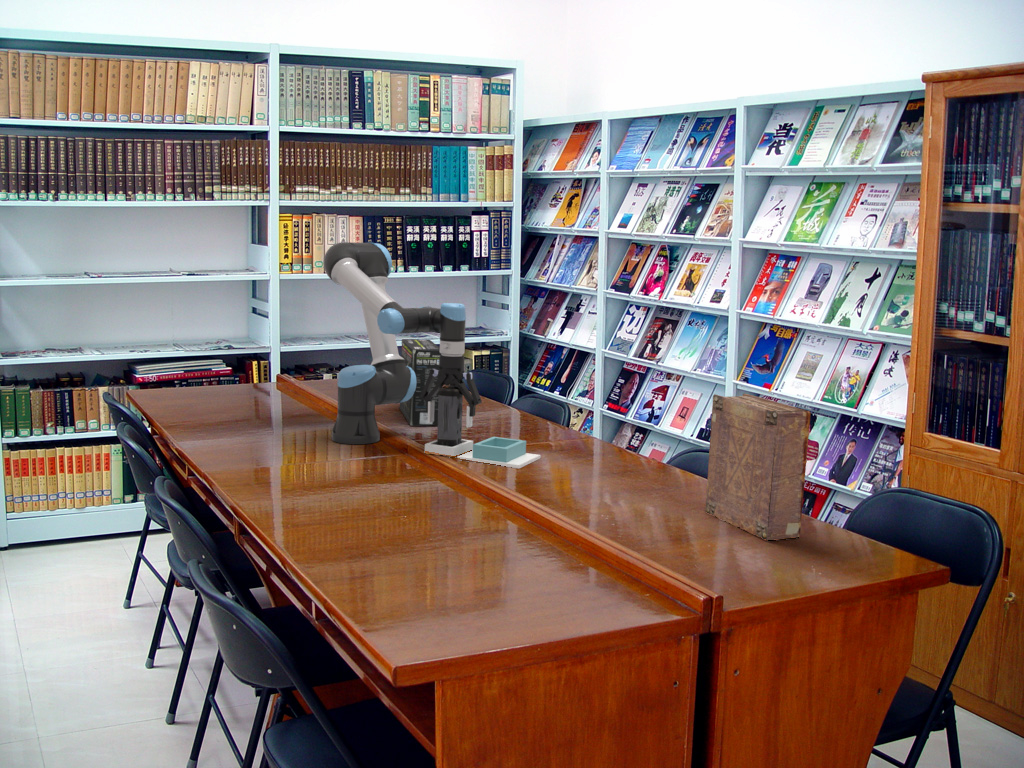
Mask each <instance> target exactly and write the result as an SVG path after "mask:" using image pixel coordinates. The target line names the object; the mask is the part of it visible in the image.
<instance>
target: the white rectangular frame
mask: <svg viewBox="0 0 1024 768" xmlns="http://www.w3.org/2000/svg"><path fill="white" fill-rule="evenodd" d="M473 444H474V440H472V439H471V440H470V439H465V438H464V439H463V438H461V444H459V445H456V446H453V447H449V446H442V445H437V439H435V440H433V441H430V442H427V443H425V444H424V452H425V451H429V452H435V453H439V454H445V455H451V456H456V455H459V454H462V453H464V452H467V451H470V450H472V451H473Z"/></svg>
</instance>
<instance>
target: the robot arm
mask: <svg viewBox="0 0 1024 768" xmlns="http://www.w3.org/2000/svg"><path fill="white" fill-rule="evenodd" d="M392 267H393V260H392V256H391V253H390V251H389V250H388V249H387V248H386V247H385V246H384V245H383V244H381V243H375V242H370V241H369V242H348V241H347V242H345V241H343V242H337V243H335V244H333V245H332V246H330V247H329V248H328V249H327V250H326V252H325V254H324V257H323V268H324V269H323V270H324V271H325V273H326V275H327V276H328V278H329V279H330V280H331V281H332V282H333V283H335V284H336V285H339V286H342V287H343V288H344V289H346V290H347V291H348V293H350V295H352V296H353V297H354V298H355V299H356V300H357V301H358V302H359V303H361V307H362V313H363V317H364V322H365V327H366V332H367V337H368V342H369V347H370V351H371V352H370V353H371V357H372V361H371V364H360V365H359V364H357V365H356V364H355V365H350V366H346V367H344V368H341V370H340V371H339V372H338V375H337V383H336V384H337V416H336V419H335V422H334V425H333V428H332V431H331V441H333V442H334V443H339V444H346V445H367V444H373V443H377V442H379V441H380V439H381V437H380V436H381V435H380V434H381V433H380V429H379V426H378V423H377V420H376V419H377V418H376V417H375V415H376V413H375V412H376V411H375V409H376V408H375V407H376V406H382V405H390V404H395V405H396V404H400V402H405V401H408V400H409V399H410V398H411V397H412V396H413V394H414V392H415V389H416V375H415V372H414V371H413V370H412V368H410V367H408V366H406V364H405V359H404V358H402V357H401V356H400V354H399V348H398V344H397V340H396V335H399V334H400V335H401V334H415V333H417V334H418V333H420V334H421V333H435V334H439V348H440V353H441V355H440V356H439V367H440V369H439V370H437V369H431V370H430V372H429V378H428V380H427V382H426V384H425V386H424V388H423V391H422V393H421V395H420V398H423V399H425V401H426V411H428V423H431V422H434V404H435V401H433V398H434V396H435V395H436V394H437V393H438V391H439V389H440V388H442V387H444V386H446V385H451V386H457V388H459V390H460V391H461V393H462V394H463V398H464V399H465V401H466V402H467V404H468V405H466V414H465V415H466V418H465V419H466V420H465V426H466V428H467V429H468V428H471V427H473V417H475V416H476V406H477V405H480V404H482V399H481V396H480V393H479V390H478V387H477V386H476V382H475V379H474V372H472V371H469V372H465V371H464V369H465V356H464V354H465V353H466V352H465V351H466V350H465V348H466V347H465V344H466V319H467V315H466V313H467V312H466V306H465V305H464V304H463V303H457V302H456V303H455V302H446V303H445V302H443V303H442V304H441V305H440V308H437V307H432V306H428V305H427V306H418V307H406V308H405V307H402V305H400V304H399V303H398V302H397V301H396V300H395V299H393V298H392V297H391V296H390V295H389V294H388V293H387V291H386V287H385V285H386V284H387V282H388V280H389V276H390V275H391V272H392ZM437 375H439V377H440V380H439V381H438V382H437V384H436V385H435V387H434V388H433V389H432V390H431V392H430V393H429V391H430V389H431V387H432V385H433V383H434V381H435V378H436V376H437ZM463 379H465V380H466V383H465V382H464V380H463ZM466 384H467V386H468V387H467V386H466ZM428 393H429V394H428Z"/></svg>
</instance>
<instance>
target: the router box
mask: <svg viewBox="0 0 1024 768" xmlns="http://www.w3.org/2000/svg"><path fill="white" fill-rule="evenodd" d="M440 355H441V353H440V346H438V345H437V344H436V343H434V342H433V341H432V340H431V339H419V338H418V339H416V338H415V339H414V338H411V339H410V338H409V339H408V338H401V357H402V358H404V359H405V364H406V366H408V367H410V368H412V370H413V371H414V372H415V375H416V389H415V392H414V394H413V396H412V397H411V398H410V399H409V400H408V401H405V402H400V403H399V407H398V408H399V410H400V412H401V413H402V414H403V416H404V418H405V419H406V422H407V423H408V424H409V426H413V427H414V426H416V427H417V426H418V427H419V426H420V427H421V426H422V427H428V426H430V425H436V426H438V396H439V391H438V393H437V394H436V395H435V396H434V398H433V401H435V404H434V422H431V423H428V411H426V401H425V399H423V398H420V395H421V393H422V391H423V388H424V386H425V384H426V382H427V380H428V378H429V372H430V370H431V369H437V370H439V369H440V367H439V356H440ZM439 380H440V377H439V375H437V376H436V378H435V381H434V383H433V385H432V387H431V389H430V391H429V393H430V392H431V390H432V389H433V388H434V387H435V385H436V384H437V382H438V381H439ZM429 393H428V394H429Z"/></svg>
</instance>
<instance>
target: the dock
mask: <svg viewBox="0 0 1024 768" xmlns="http://www.w3.org/2000/svg"><path fill="white" fill-rule="evenodd" d="M456 458H460V459H466V460H472V461H478V462H484V463H490V464H496V465H495V466H497V465H501V466H500V467H504V466H506V467H505V468H511V467H512V468H513V469H518V470H519V469H521V468H523V467H526V466H527V465H529V464H532V463H533V462H536V461H537V460H540V459H541V454H535V453H528V452H527V440H522V439H514V438H508V437H507V438H506V437H500V436H491V437H489V438H486V439H484V440H481V441H478V442H475V443H473V450H472V451H470V452H467V453H465V454H462V455H460V456H457V457H456ZM490 464H489V465H490Z"/></svg>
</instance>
